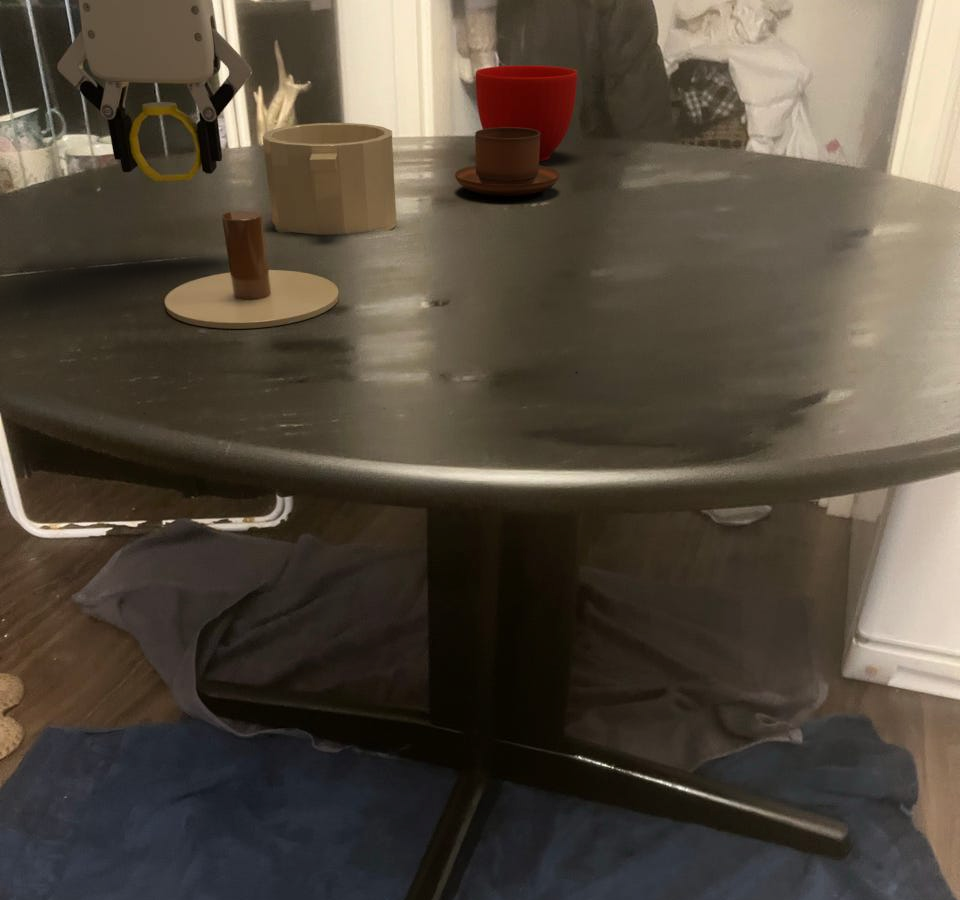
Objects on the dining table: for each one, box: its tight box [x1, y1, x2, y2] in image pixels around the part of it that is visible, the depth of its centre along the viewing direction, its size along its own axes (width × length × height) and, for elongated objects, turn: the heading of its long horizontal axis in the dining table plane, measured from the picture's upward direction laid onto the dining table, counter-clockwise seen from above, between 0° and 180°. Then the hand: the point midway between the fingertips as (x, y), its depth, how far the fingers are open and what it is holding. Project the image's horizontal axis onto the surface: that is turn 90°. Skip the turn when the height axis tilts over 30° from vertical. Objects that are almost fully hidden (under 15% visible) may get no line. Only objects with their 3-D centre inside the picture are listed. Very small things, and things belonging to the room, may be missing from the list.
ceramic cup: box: [475, 65, 578, 162], centre depth 128 cm, size 13×17×10 cm
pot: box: [262, 122, 397, 236], centre depth 99 cm, size 13×18×8 cm
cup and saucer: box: [454, 127, 560, 197], centre depth 112 cm, size 12×12×6 cm
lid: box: [164, 210, 340, 330], centre depth 77 cm, size 14×14×7 cm
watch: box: [129, 101, 202, 183], centre depth 83 cm, size 6×3×6 cm, turn 89°
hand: (170, 167), depth 84 cm, fingers closed on watch, 6 cm apart
